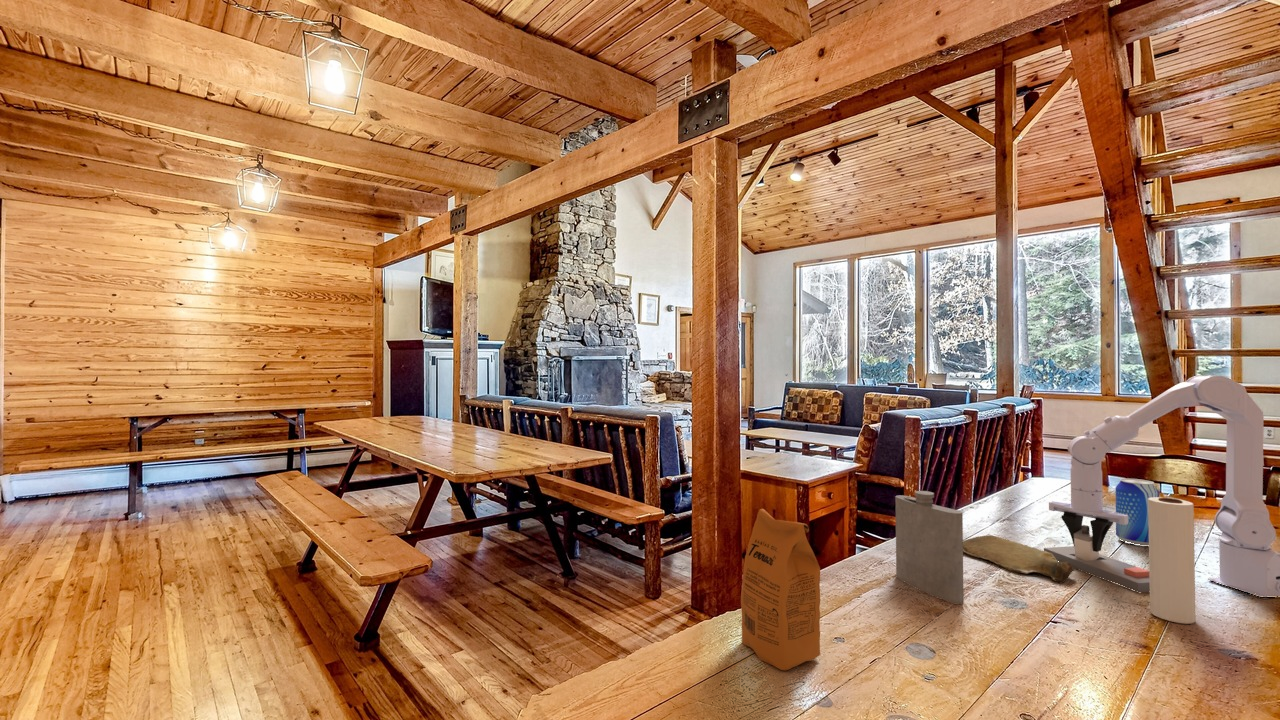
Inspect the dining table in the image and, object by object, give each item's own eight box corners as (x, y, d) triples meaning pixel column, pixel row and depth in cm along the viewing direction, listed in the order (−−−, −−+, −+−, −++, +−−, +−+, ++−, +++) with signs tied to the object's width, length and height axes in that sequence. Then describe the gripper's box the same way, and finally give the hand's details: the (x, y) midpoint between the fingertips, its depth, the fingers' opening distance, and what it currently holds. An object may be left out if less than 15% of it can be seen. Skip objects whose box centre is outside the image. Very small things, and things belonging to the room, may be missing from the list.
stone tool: (1089, 576, 119) (981, 543, 143) (1086, 558, 119) (979, 528, 143) (1053, 591, 115) (948, 555, 139) (1050, 572, 115) (946, 539, 139)
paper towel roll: (1180, 626, 97) (1178, 504, 97) (1141, 612, 103) (1139, 497, 103) (1209, 621, 99) (1206, 502, 99) (1168, 607, 105) (1166, 494, 105)
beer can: (1169, 548, 139) (1168, 484, 139) (1136, 548, 139) (1135, 484, 139) (1138, 537, 147) (1138, 477, 147) (1107, 537, 147) (1106, 477, 147)
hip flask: (967, 602, 108) (966, 499, 108) (951, 605, 106) (950, 501, 107) (904, 573, 123) (903, 483, 123) (889, 576, 121) (888, 484, 122)
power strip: (1176, 590, 113) (1176, 575, 113) (1138, 593, 112) (1138, 578, 112) (1076, 554, 135) (1076, 541, 135) (1043, 556, 133) (1043, 543, 133)
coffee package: (779, 628, 98) (778, 503, 98) (830, 662, 86) (828, 521, 86) (731, 639, 94) (730, 509, 94) (777, 677, 82) (776, 528, 82)
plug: (1099, 557, 127) (1097, 525, 126) (1090, 563, 125) (1088, 530, 124) (1083, 553, 130) (1081, 522, 129) (1075, 558, 128) (1073, 527, 127)
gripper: (1133, 493, 123) (1134, 554, 123) (1058, 481, 136) (1059, 537, 135) (1120, 497, 120) (1120, 560, 119) (1044, 484, 132) (1044, 541, 132)
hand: (1087, 548), depth 127 cm, fingers closed on plug, 3 cm apart
